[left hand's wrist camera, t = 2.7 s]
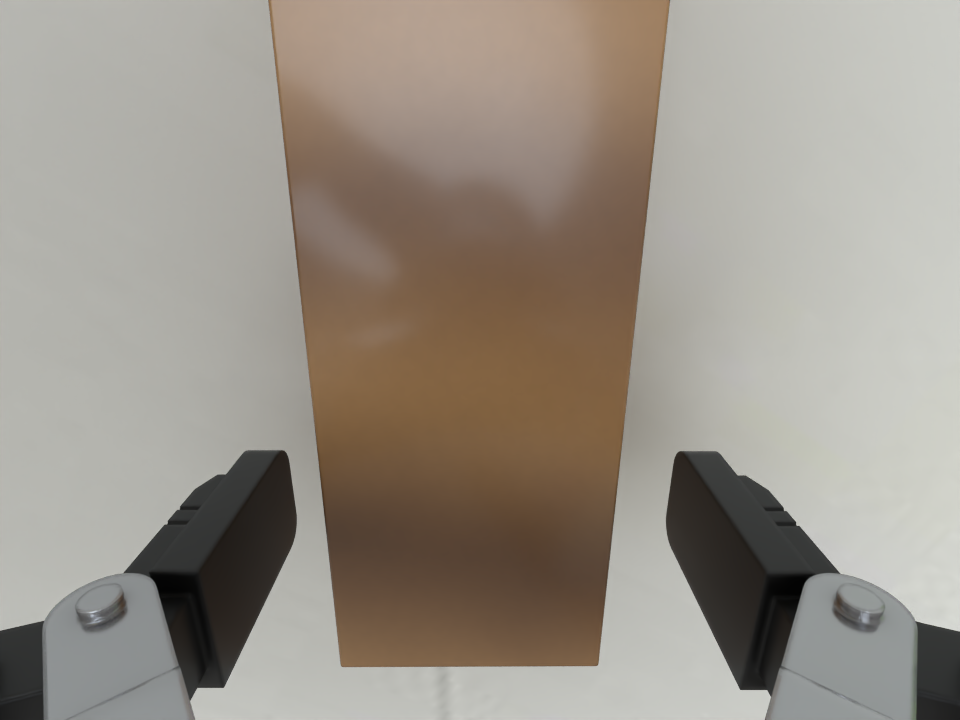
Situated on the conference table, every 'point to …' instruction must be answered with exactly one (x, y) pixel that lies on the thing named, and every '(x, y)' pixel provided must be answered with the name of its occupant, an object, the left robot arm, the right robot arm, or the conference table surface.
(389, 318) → the bar
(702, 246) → the conference table surface
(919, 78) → the conference table surface
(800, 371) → the conference table surface
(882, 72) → the conference table surface
